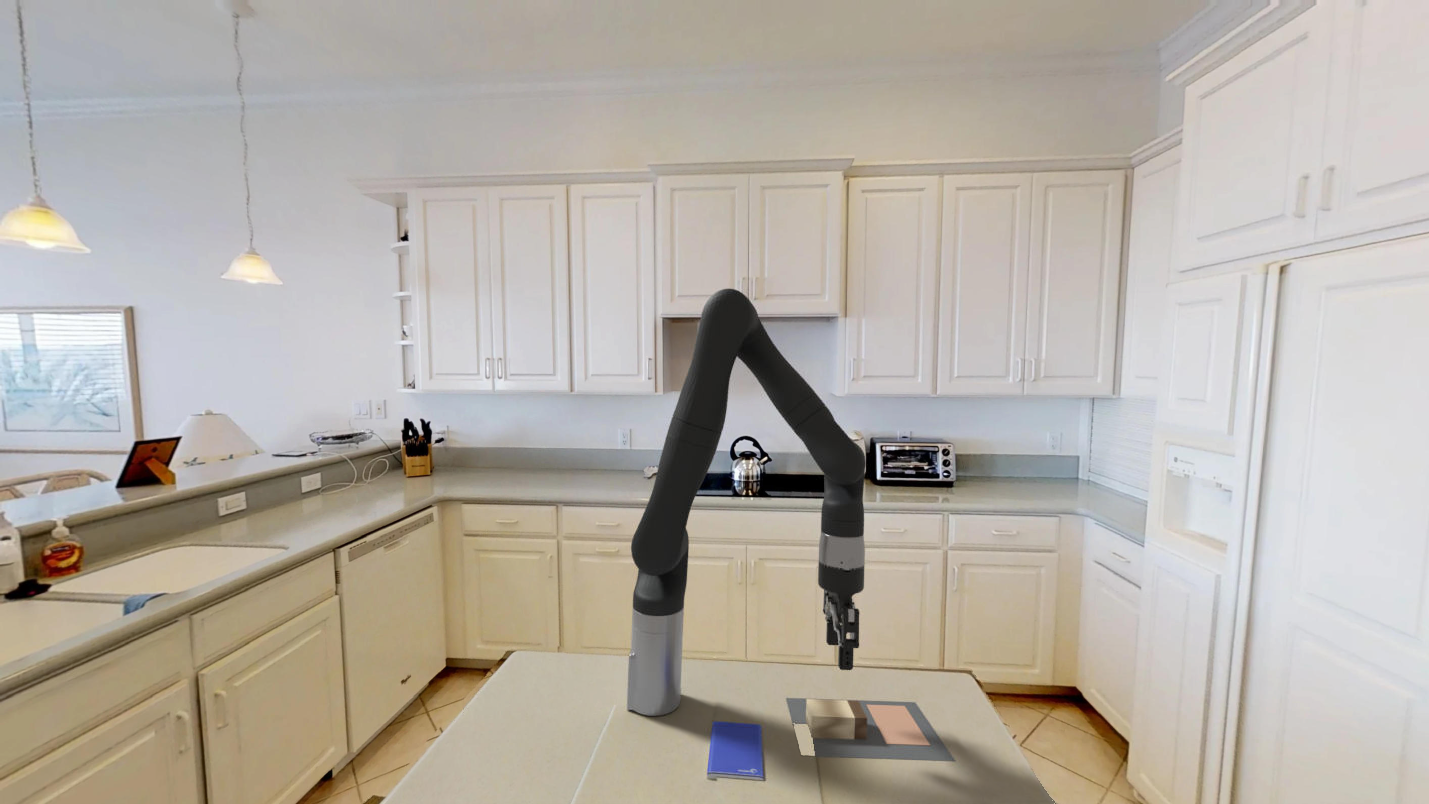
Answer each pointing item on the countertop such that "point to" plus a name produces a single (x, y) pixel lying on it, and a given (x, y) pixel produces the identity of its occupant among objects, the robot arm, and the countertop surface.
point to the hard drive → (735, 751)
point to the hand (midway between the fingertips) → (838, 656)
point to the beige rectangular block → (836, 719)
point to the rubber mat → (881, 733)
